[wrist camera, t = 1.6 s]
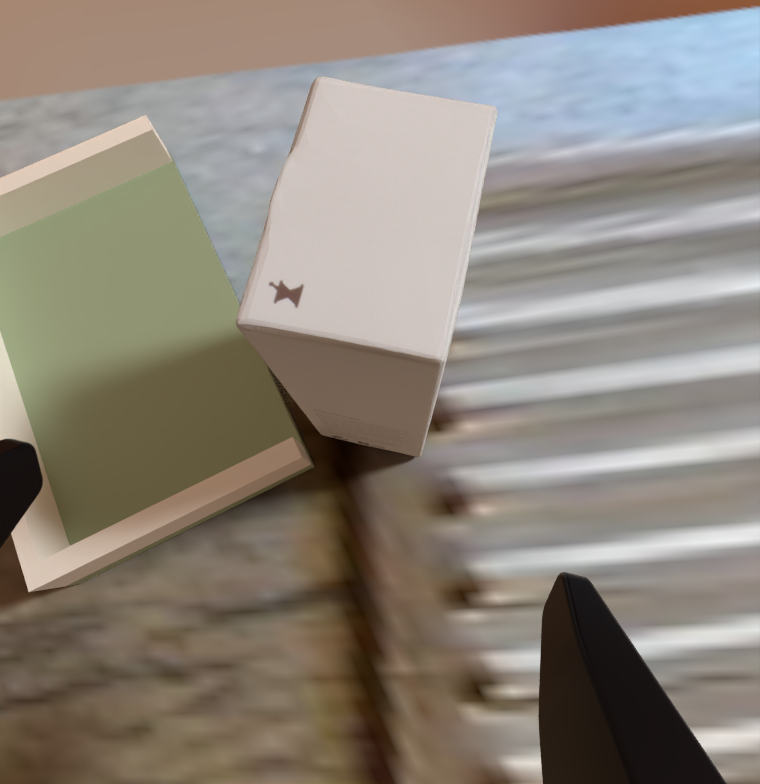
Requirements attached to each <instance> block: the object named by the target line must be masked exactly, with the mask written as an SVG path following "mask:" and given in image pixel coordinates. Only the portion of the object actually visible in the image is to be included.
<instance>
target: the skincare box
mask: <svg viewBox="0 0 760 784" xmlns="http://www.w3.org/2000/svg"><path fill="white" fill-rule="evenodd" d="M496 118H497V109H496V108H495V107H494V106H491V105H484V104H477V103H471V102H465V101H459V100H453V99H447V98H440V97H434V96H427V95H421V94H415V93H409V92H403V91H397V90H391V89H386V88H380V87H374V86H369V85H363V84H358V83H353V82H348V81H343V80H338V79H333V78H329V77H323V76H319V77H317V78H316V79H315V80H314V82H313V84H312V86H311V89H310V92H309V95H308V98H307V101H306V104H305V107H304V110H303V113H302V116H301V120H300V123H299V126H298V129H297V131H296V134H295V138H294V141H293V144H292V147H291V150H290V153H289V156H288V158H287V160H286V162H285V164H284V166H283V168H282V170H281V173H280V175H279V178H278V180H277V183H276V186H275V188H274V191H273V194H272V197H271V200H270V205H269V211H268V216H267V220H266V223H265V227H264V231H263V234H262V237H261V240H260V243H259V246H258V249H257V253H256V256H255V260H254V263H253V266H252V269H251V272H250V275H249V278H248V281H247V285H246V288H245V291H244V294H243V297H242V300H241V304H240V307H239V310H238V313H237V316H236V326H237V327H238V328H239V330H240V331H241V332H242V334H243V335H244V336H245V337H246V339H247V340H248V341H249V343H250V344H251V345H252V346H253V347H254V349H255V350H256V351H257V353H258V354H259V355H260V357H261V358H262V359H263V360H264V362H265V363H266V364H267V365H268V367H269V368H270V370H271V371H272V372H273V373H274V375H275V376H276V377H277V378H278V380H279V381H280V382H281V384H282V385H283V386H284V388H285V389H286V390H287V392H288V393H289V394H290V396H291V397H292V398H293V399H294V401H295V402H296V403H297V405H298V406H299V407H300V408H301V410H302V411H303V412H304V413H305V415H306V416H307V417H308V419H309V420H310V421H311V423H312V424H313V425H314V427H315V428H316V429H317V430H318V432H319V433H320V434H321V435H323V436H327V437H332V438H336V439H340V440H345V441H349V442H353V443H357V444H361V445H366V446H370V447H375V448H380V449H384V450H389V451H393V452H398V453H402V454H407V455H411V456H414V457H420V456H421V455H422V451H423V448H424V444H425V440H426V436H427V432H428V428H429V424H430V421H431V417H432V414H433V410H434V407H435V402H436V399H437V395H438V391H439V387H440V383H441V379H442V375H443V371H444V367H445V363H446V360H447V356H448V352H449V348H450V344H451V340H452V335H453V331H454V327H455V323H456V318H457V314H458V310H459V306H460V301H461V297H462V292H463V287H464V283H465V277H466V273H467V268H468V262H469V257H470V252H471V247H472V242H473V237H474V232H475V227H476V221H477V216H478V211H479V206H480V201H481V196H482V191H483V185H484V179H485V174H486V169H487V164H488V158H489V153H490V148H491V143H492V138H493V133H494V128H495V123H496Z"/></svg>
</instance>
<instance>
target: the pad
mask: <svg viewBox="0 0 760 784" xmlns="http://www.w3.org/2000/svg"><path fill="white" fill-rule="evenodd" d="M239 307H240V303H239V301H238V299H237V297H236V295H235V292H234V290H233V288H232V286H231V284H230V282H229V279H228V277H227V275H226V273H225V271H224V269H223V266H222V264H221V262H220V260H219V258H218V255H217V253H216V251H215V249H214V247H213V245H212V242H211V240H210V238H209V236H208V234H207V232H206V229H205V227H204V225H203V223H202V221H201V219H200V216H199V214H198V212H197V210H196V208H195V206H194V203H193V201H192V199H191V197H190V195H189V193H188V190H187V188H186V186H185V184H184V182H183V180H182V177H181V175H180V173H179V171H178V169H177V167H176V164H175V162H174V160H173V158H172V157H171V155H170V154H169V152H168V150H167V149H166V147H165V145H164V144H163V142H162V141H161V139H160V137H159V136H158V134H157V133H156V131H155V129H154V128H153V126H152V125H151V123H150V121H149V120H148V118H147V116H146V115H145V116H143V117H140V118H138V119H136V120H133V121H131V122H129V123H127V124H124V125H122V126H120V127H117V128H115V129H113V130H110V131H108V132H106V133H103V134H101V135H99V136H96V137H94V138H92V139H90V140H87V141H85V142H83V143H80V144H78V145H76V146H73V147H71V148H69V149H66V150H64V151H62V152H60V153H57V154H55V155H53V156H50V157H48V158H46V159H43V160H41V161H39V162H36V163H34V164H32V165H30V166H27V167H25V168H23V169H20V170H18V171H16V172H13V173H11V174H9V175H6V176H4V177H2V178H0V440H3V439H15V440H20V441H24V442H28V443H30V444H32V445H33V446H34V448H35V450H36V453H37V457H38V461H39V465H40V469H41V473H42V477H43V485H42V488H41V491H40V493H39V494H38V496H37V497H36V499H35V500H34V501H33V503H32V504H31V506H30V507H29V509H28V510H27V511H26V513H25V514H24V516H23V517H22V518H21V520H20V521H19V523H18V524H17V525H16V527H15V528H14V530H13V531H12V532H11V535H12V538H13V541H14V545H15V548H16V551H17V555H18V558H19V561H20V565H21V568H22V571H23V575H24V578H25V581H26V585H27V588H28V592H33V591H40V590H46V589H52V588H59V587H65V586H71V585H78V584H80V583H82V582H84V581H86V580H88V579H90V578H92V577H94V576H96V575H98V574H100V573H102V572H104V571H106V570H108V569H110V568H112V567H114V566H116V565H118V564H120V563H122V562H124V561H126V560H128V559H130V558H132V557H134V556H136V555H138V554H140V553H142V552H144V551H146V550H148V549H150V548H152V547H154V546H156V545H158V544H160V543H162V542H165V541H167V540H169V539H171V538H173V537H175V536H177V535H179V534H181V533H183V532H185V531H187V530H189V529H191V528H193V527H195V526H197V525H199V524H201V523H203V522H205V521H207V520H209V519H211V518H213V517H215V516H217V515H219V514H221V513H223V512H225V511H227V510H229V509H231V508H233V507H235V506H237V505H239V504H241V503H243V502H245V501H247V500H249V499H251V498H253V497H255V496H257V495H259V494H261V493H263V492H265V491H267V490H269V489H271V488H273V487H275V486H277V485H279V484H281V483H283V482H285V481H287V480H289V479H291V478H293V477H295V476H298V475H300V474H302V473H304V472H306V471H308V470H310V469H312V468H314V467H315V466H314V464H313V462H312V459H311V457H310V455H309V453H308V451H307V449H306V446H305V444H304V442H303V440H302V438H301V436H300V433H299V431H298V429H297V427H296V425H295V423H294V420H293V418H292V416H291V414H290V412H289V410H288V407H287V405H286V403H285V401H284V399H283V397H282V394H281V392H280V390H279V388H278V386H277V384H276V381H275V379H274V377H273V375H272V373H271V370H270V368H269V367H268V365H267V364H266V363H265V362H264V360H263V359H262V358H261V357H260V355H259V354H258V353H257V351H256V350H255V349H254V347H253V346H252V345H251V344H250V343H249V341H248V340H247V339H246V337H245V336H244V335H243V334H242V332H241V331H240V330H239V328H238V327H237V326H236V316H237V313H238V310H239Z"/></svg>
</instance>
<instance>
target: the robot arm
mask: <svg viewBox="0 0 760 784" xmlns="http://www.w3.org/2000/svg"><path fill="white" fill-rule="evenodd" d="M42 485H43V477H42V473H41V469H40V465H39V461H38V457H37V453H36V450H35V448H34V446H33V445H32V444H30V443H28V442H24V441H20V440H15V439H3V440H0V548H1V547H2V545H3V544H4V542H5V541H6V540H7V538H8V537H9V535H10V534H11V532H12V531H13V530H14V528H15V527H16V525H17V524H18V523H19V521H20V520H21V518H22V517H23V516H24V514H25V513H26V511H27V510H28V509H29V507H30V506H31V504H32V503H33V501H34V500H35V499H36V497H37V496H38V494H39V493H40V491H41V488H42ZM539 735H540V749H541V763H542V776H543V784H727V783H726V782H725V780H724V779H723V777H722V776H721V774H720V773H719V772H718V770H717V769H716V767H715V766H714V764H713V763H712V761H711V760H710V758H709V757H708V755H707V754H706V752H705V751H704V749H703V748H702V746H701V745H700V743H699V742H698V740H697V739H696V737H695V736H694V734H693V733H692V731H691V730H690V728H689V727H688V725H687V724H686V723H685V721H684V720H683V718H682V717H681V715H680V714H679V712H678V711H677V709H676V708H675V706H674V705H673V703H672V702H671V700H670V699H669V697H668V696H667V694H666V693H665V691H664V690H663V688H662V687H661V685H660V684H659V682H658V681H657V679H656V678H655V676H654V675H653V673H652V672H651V671H650V669H649V668H648V666H647V665H646V663H645V662H644V660H643V659H642V657H641V656H640V654H639V653H638V651H637V650H636V648H635V647H634V645H633V644H632V642H631V641H630V639H629V638H628V636H627V635H626V633H625V632H624V630H623V629H622V627H621V626H620V624H619V623H618V622H617V620H616V619H615V617H614V616H613V614H612V613H611V611H610V610H609V608H608V607H607V605H606V604H605V602H604V601H603V599H602V598H601V596H600V595H599V593H598V592H597V590H596V589H595V587H594V586H593V584H592V583H591V582H590V581H589V580H588V579H587V578H585V577H582V576H578V575H574V574H570V573H566V572H563V573H560V574H559V576H558V577H557V579H556V581H555V583H554V586H553V588H552V590H551V592H550V594H549V597H548V599H547V601H546V603H545V606H544V610H543V616H542V634H541V660H540V687H539Z"/></svg>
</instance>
